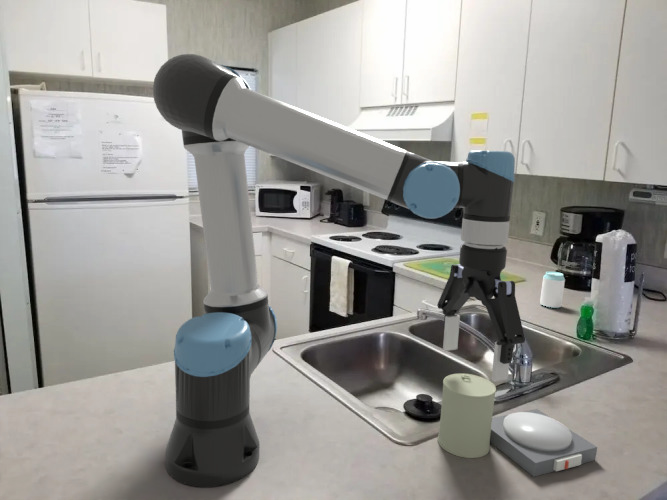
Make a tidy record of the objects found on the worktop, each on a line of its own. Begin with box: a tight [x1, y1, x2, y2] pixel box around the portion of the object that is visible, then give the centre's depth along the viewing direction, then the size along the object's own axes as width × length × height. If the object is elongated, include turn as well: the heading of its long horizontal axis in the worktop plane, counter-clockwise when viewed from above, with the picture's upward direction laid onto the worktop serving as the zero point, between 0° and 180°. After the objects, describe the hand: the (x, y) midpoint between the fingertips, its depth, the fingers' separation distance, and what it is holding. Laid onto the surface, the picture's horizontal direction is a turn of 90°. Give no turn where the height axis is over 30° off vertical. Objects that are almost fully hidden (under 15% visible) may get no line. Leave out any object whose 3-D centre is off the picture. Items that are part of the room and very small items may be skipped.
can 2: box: [539, 271, 566, 309], centre depth 180 cm, size 7×7×12 cm
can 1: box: [437, 373, 497, 459], centre depth 92 cm, size 9×9×12 cm
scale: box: [490, 408, 598, 477], centre depth 92 cm, size 14×15×4 cm
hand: (473, 363), depth 90 cm, fingers open, 13 cm apart
